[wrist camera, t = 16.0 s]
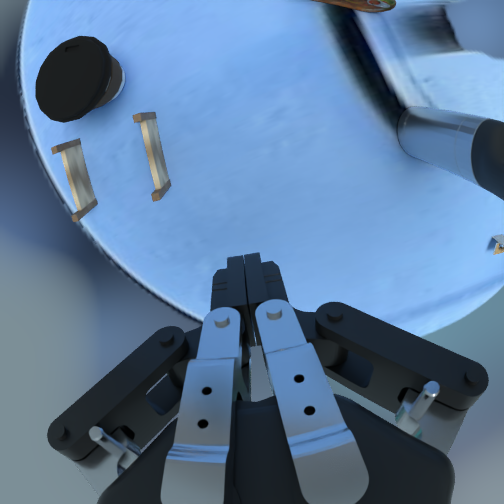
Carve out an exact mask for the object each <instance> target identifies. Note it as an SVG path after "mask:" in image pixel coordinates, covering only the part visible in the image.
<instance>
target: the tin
mask: <svg viewBox="0 0 504 504" xmlns="http://www.w3.org/2000/svg"><path fill="white" fill-rule="evenodd" d="M312 1H318V2H324V3H329V4H334V5H339V6H343V7H348V8H352V9H356V10H360V11H366V12H384V11H389V10H391V9H393V8H394V7H395V6H396V1H395V0H312Z"/></svg>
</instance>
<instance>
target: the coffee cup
mask: <svg viewBox="0 0 504 504" xmlns="http://www.w3.org/2000/svg"><path fill="white" fill-rule="evenodd" d="M124 83H125V72H124V70H123V68H122V66H120V64H119V62H118V61H117V60H116V59H115V58H114V57H112V56H111V55H110V54H109V51H108V49H107V47H106V45H105V44H103V43H102V42H101V41H99V40H98V39H96V38H95V37H88V36H78V37H75V38H72V39H70V40H67V41H65V42H63V43H61V44H60V45H59V46H58V47H56V48H55V49H54V50H53V51H52V52H50V53H49V55H48V56H47V58H46V59H45V61H44V62H43V64H42V65H41V67H40V70H39V73H38V76H37V80H36V100H37V102H38V105H39V108H40V110H41V111H42V112H43V113H44V114H46V115H47V116H48V117H49V118H50V119H51V120H54V121H59V122H63V123H64V122H69V121H73V120H77V119H80V118H82V117H83V116H84V115H86V114H87V113H88V112H90V111H91V110H93V109H96V108H98V107H101V106H103V105H105V104H106V103H108V102H110V101H112V100H113V99H115V98H116V97H117V96H118V95H119V93H120V92H121V91H122V89H123V86H124Z"/></svg>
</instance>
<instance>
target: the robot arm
mask: <svg viewBox="0 0 504 504" xmlns="http://www.w3.org/2000/svg"><path fill="white" fill-rule="evenodd" d="M397 133H398V139H399V142H400V144H401V146H402V148H403V149H404V151H405V152H406V153H407V154H409V155H410V156H412V157H415V158H417V159H420V160H423V161H425V162H427V163H430V164H432V165H435V166H437V167H439V168H442V169H444V170H446V171H449V172H451V173H453V174H455V175H457V176H460V177H462V178H464V179H466V180H468V181H470V182H472V183H474V184H476V185H478V186H480V187H482V188H484V189H486V190H488V191H490V192H491V193H493V194H494V195H496V196H498V197H499V198H501V199H502V200H504V122H501V121H498V120H494V119H490V118H485V117H481V116H476V115H471V114H466V113H460V112H454V111H448V110H442V109H435V108H427V107H417V106H414V107H410V108H408V109H406V110H405V111H404V112H403V113H402V115H401V116H400V119H399V122H398V130H397ZM244 260H245V263H244ZM212 285H213V286H212V295H211V309H210V312H209V313H208V314H207V315H206V317H205V318H204V321H203V325H202V326H200V327H199V328H197V329H194V330H191V331H189V332H186V333H184V332H183V330H182V329H180V328H179V327H175V326H169V327H164V328H162V329H160V330H158V331H157V332H155V333H154V334H153V335H152V336H151V337H150V338H148V339H147V340H146V341H145V342H144V343H143V344H142V345H140V346H139V347H138V348H137V349H136V350H135V351H133V352H132V353H131V354H130V355H129V356H128V357H127V358H125V359H124V360H123V361H122V362H121V363H120V364H119V365H117V366H116V367H115V368H114V369H113V370H112V371H110V372H109V373H108V374H107V375H106V376H105V377H104V378H103V379H101V380H100V381H99V382H98V383H97V384H95V385H94V386H93V387H92V388H91V389H90V390H89V391H87V392H86V393H85V394H84V395H83V396H82V397H81V398H79V399H78V400H77V401H76V402H75V403H74V404H73V405H71V406H70V407H69V408H68V409H67V410H66V411H64V412H63V413H62V414H61V415H60V416H59V417H58V418H57V419H55V420H54V421H53V422H52V423H51V425H50V427H49V429H48V433H47V437H48V442H49V443H50V445H51V446H52V447H53V448H54V449H55V450H57V451H59V452H60V453H61V454H63V455H64V456H66V457H67V458H68V459H69V460H71V461H72V462H74V463H75V465H76V466H77V468H78V469H79V470H80V472H81V473H82V475H83V476H84V477H85V479H86V480H87V481H88V483H89V484H90V485H91V486H92V488H93V489H94V490H95V491H96V492H97V494H98V495H99V496H100V497H99V500H98V502H97V504H451V498H452V493H453V489H454V483H455V473H454V468H453V465H452V463H451V461H450V459H449V458H448V457H447V454H448V452H449V450H450V448H451V446H452V444H453V442H454V440H455V438H456V436H457V434H458V431H459V430H460V427H461V425H462V423H463V420H464V417H465V416H466V413H467V411H468V410H469V409H470V408H471V406H472V405H473V404H474V403H475V402H476V401H477V400H478V398H479V397H480V396H481V395H482V393H483V392H484V391H485V390H486V388H487V386H488V381H489V380H488V374H487V372H486V370H485V368H484V367H483V366H482V365H480V364H479V363H477V362H475V361H473V360H470V359H468V358H466V357H463V356H461V355H459V354H456V353H454V352H452V351H450V350H448V349H445V348H443V347H441V346H438V345H436V344H434V343H431V342H429V341H427V340H425V339H422V338H420V337H418V336H416V335H413V334H411V333H409V332H407V331H404V330H402V329H400V328H398V327H395V326H393V325H391V324H389V323H386V322H384V321H382V320H380V319H377V318H375V317H373V316H371V315H368V314H366V313H364V312H362V311H360V310H357V309H355V308H353V307H351V306H348V305H346V304H344V303H340V302H329V303H325V304H323V305H321V306H320V307H319V308H318V309H317V311H316V312H303V311H300V310H297V309H295V308H293V307H292V306H291V304H290V303H289V301H288V298H287V294H286V291H285V287H284V284H283V280H282V277H281V273H280V270H279V266H278V265H276V264H275V263H274V262H273V261H269V262H263V263H261V258H260V253H252V254H246V255H244V258H243V255H241V256H234V257H228V258H227V268H226V269H220V270H217V272H216V273H215V275H214V276H213V282H212ZM254 332H255V335H254ZM255 337H256V342H257V346H258V345H261V347H262V352H263V357H264V362H265V366H266V370H267V375H268V379H269V383H270V387H271V391H272V395H273V396H272V397H269V398H267V399H264V400H261V401H258V402H251V358H250V357H251V349H250V347H252V346H256V344H255ZM166 373H167V376H166V377H165V378H163V379H162V380H161V381H160V382H159V383H158V384H157V385H156V386H155V387H154V388H153V389H152V390H151V391H150V392H149V393H148V394H147V395H146V393H147V391H148V390H149V389H150V388H151V387H152V386H153V385H154V384H155V383H156V382H158V381H159V380H160V379H161V378H162V377H163V376H164V375H165V374H166ZM326 375H327V376H328V377H330V378H332V379H333V380H335V381H337V382H339V383H340V384H342V385H344V386H345V387H347V388H349V389H351V390H352V391H354V392H356V393H358V394H359V395H361V396H363V397H365V398H367V399H368V400H371V401H372V402H374V403H376V404H378V405H379V406H381V407H383V408H385V409H387V410H389V411H391V412H393V413H395V421H396V424H397V426H398V427H399V428H398V427H396V426H394V425H393V424H391V423H389V422H387V421H386V420H384V419H382V418H381V417H379V416H377V415H375V414H374V413H372V412H371V411H369V410H367V409H366V408H364V407H362V406H361V405H359V404H357V403H356V402H354V401H353V400H351V399H348V398H346V397H344V396H340V395H337V394H333V392H332V390H331V387H330V385H329V383H328V380H327V378H326ZM178 412H179V415H178V418H176V419H175V420H174V421H172V422H171V423H170V424H169V425H168V426H167V427H166V428H165V429H164V430H163V431H162V433H161V434H160V435H159V436H158V437H157V438H156V439H155V440H154V441H153V442H152V443H151V444H150V445H149V446H148V447H147V448H146V449H145V450H144V452H142V453H141V449H142V448H143V447H144V446H145V445H146V444H147V443H148V442H149V441H150V440H151V439H152V438H153V437H154V436H155V435H156V434H157V433H158V432H159V431H161V430H162V429H163V428H164V426H166V424H167V423H168V422H169V421H170V420H171V419H172V418H173V417H174V416H175V415H176V414H177V413H178Z"/></svg>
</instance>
